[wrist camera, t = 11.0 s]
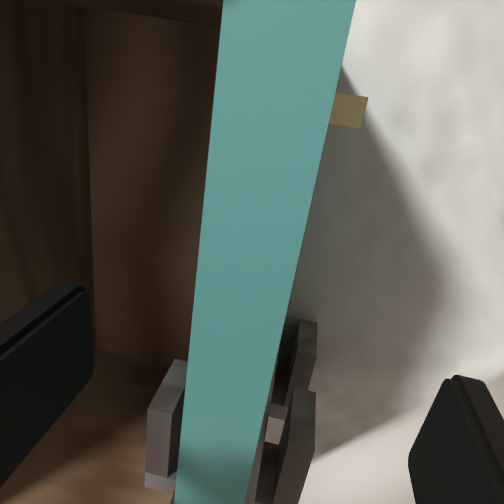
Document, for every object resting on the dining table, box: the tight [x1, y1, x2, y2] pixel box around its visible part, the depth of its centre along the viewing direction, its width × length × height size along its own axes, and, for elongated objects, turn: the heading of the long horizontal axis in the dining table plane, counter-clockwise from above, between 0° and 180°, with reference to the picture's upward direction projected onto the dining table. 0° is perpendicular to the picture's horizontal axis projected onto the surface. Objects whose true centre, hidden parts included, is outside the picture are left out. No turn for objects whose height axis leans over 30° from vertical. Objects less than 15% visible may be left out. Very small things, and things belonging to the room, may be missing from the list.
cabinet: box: [0, 0, 317, 504], centre depth 15 cm, size 14×21×13 cm
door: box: [170, 0, 368, 504], centre depth 14 cm, size 3×16×12 cm, turn 171°
